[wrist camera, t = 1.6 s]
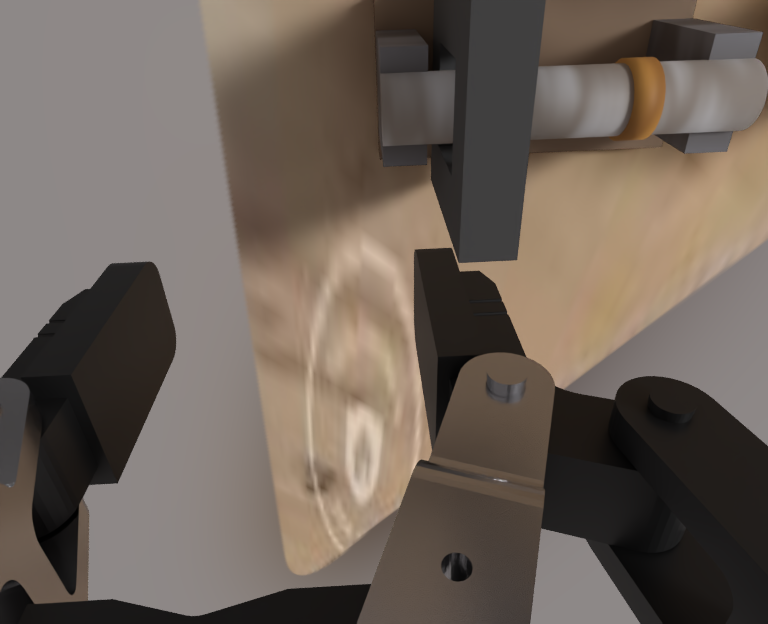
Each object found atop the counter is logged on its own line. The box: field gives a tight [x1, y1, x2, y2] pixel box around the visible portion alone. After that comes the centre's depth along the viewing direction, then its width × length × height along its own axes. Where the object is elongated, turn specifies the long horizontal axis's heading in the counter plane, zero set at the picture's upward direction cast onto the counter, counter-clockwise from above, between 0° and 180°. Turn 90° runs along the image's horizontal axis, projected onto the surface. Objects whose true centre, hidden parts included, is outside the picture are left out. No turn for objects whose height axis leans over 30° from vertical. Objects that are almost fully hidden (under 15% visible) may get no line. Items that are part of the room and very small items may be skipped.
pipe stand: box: [374, 0, 768, 167], centre depth 27 cm, size 8×16×9 cm, turn 92°
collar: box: [431, 0, 546, 263], centre depth 24 cm, size 10×2×10 cm, turn 2°
